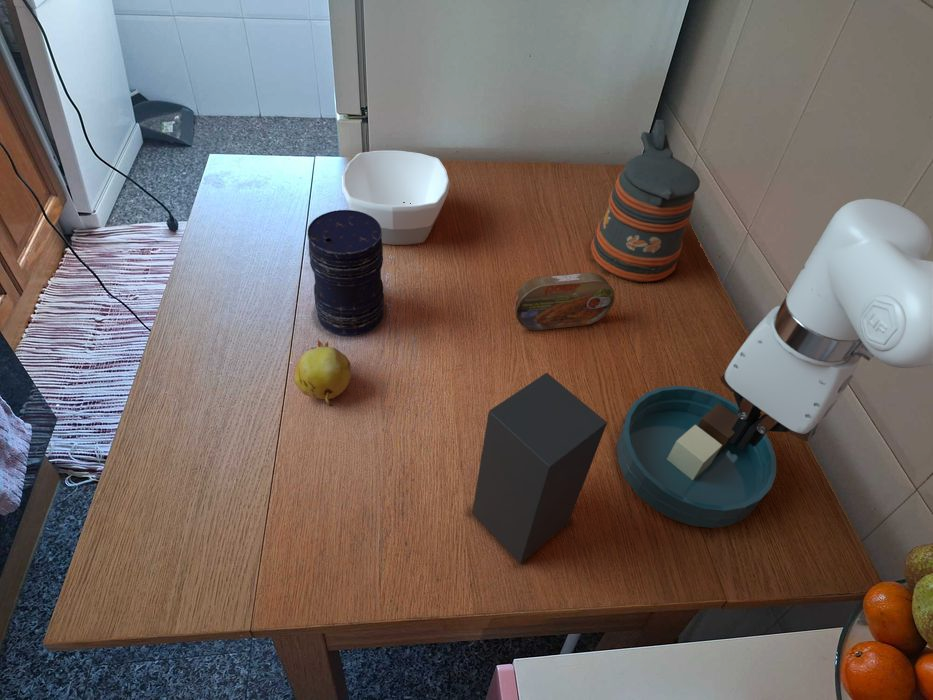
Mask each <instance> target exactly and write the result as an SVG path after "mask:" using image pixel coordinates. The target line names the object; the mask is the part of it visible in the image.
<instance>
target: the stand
mask: <svg viewBox="0 0 933 700" xmlns="http://www.w3.org/2000/svg"><path fill="white" fill-rule="evenodd" d="M485 425H486V426H485V432H484V438H483V444H482V449H481V456H480V462H479V469H478V474H477V480H476V487H475V494H474V500H473V506H472V511H471V514H472V515H473V517H475V519H476V520H478V522H480V523H481V525H482V526H483V527H484V528H485V529H486V530H487V531H488V532H489V533H490V534H491V535H492V536H493V538H494V539H496V540H497V541H498V542H499V544H500V545H501V546H502V547H503V548H504V549H505V550H506V551H507V552H508V553H509V554H510V555H511V556H512V557H513V558H514V559H515V561H517V563H518V564H520V565H522V563H524V562H525V561H526V560H527V559H529V558H530V557H531V556H532V555H534V553H535V552H537V551H538V550H539V549H540V548H541V547H543V546H544V545H545V544H546V543H548V542H549V541H550V540H551V539H553V537H554V536H555V535H557V534H558V533H559V532H560V531H561V530H562V529H564V528H565V527H566V526H567V525H568V524H569V523H570V522H571V518H572V516H573V513H574V511H575V508H576V506H577V504H578V500H579V498H580V495H581V492H582V490H583V487H584V485H585V482H586V480H587V477H588V474H589V471H590V470H591V466H592V463H593V461H594V458H595V456H596V453H597V450H598V448H599V446H600V443H601V440H602V438H603V436H604V433H605V430H606V427H607V425H608V421H606V420H605V419H604V418H603V417H601V416H600V414H598V413H597V412H595V411H594V410H593V409H592V408H591V407H589V406H588V405H587V404H586V403H584V402H583V401H582V400H581V399H580V398H578V397H577V396H576V395H575V394H573V393H572V392H571V391H570V390H569V389H567V388H566V387H565V386H563V385H562V384H561V383H560V382H559V381H558V380H557V379H555V378H554V377H553V376H552V375H550V374H549V373H548V372H545V373H544V374H542V375H540V376H539V377H538V378H536V379H534V380H533V381H531V382H530V383H528V384H527V385H526V386H524V387H522V388H521V389H519V390H518V391H516V392H514V393H513V394H512V395H510V396H509V397H507V398H506V399H505V400H503V401H501V402H500V403H499V404H497V405H495V406H494V407H493V408H491V409H490V410H488V413H487V420H486V424H485Z"/></svg>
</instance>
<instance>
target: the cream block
mask: <svg viewBox="0 0 933 700" xmlns="http://www.w3.org/2000/svg"><path fill="white" fill-rule="evenodd" d="M721 447H722V444H720V443H719V442H718V441H716V440H715V439H714V438H712V437H711V436H710V435H708V434H707V433H706V432H704V431H703V430H702V429H700V428H699V427H698V426H697V425H694V426H693V427H692V428H691V429H689V430H688V431H687V432H686V433H685V434H684V435H683V436H681V437H680V438H679V439H678V440H677V441H676V443H675V445H674V447H673V448H672V450H671V452H670V454H669V456H668V458H667V460H668V461H669V462H671V463H672V464H673V465H674V466H676V467H677V468H678V469H679V470H681V471H682V472H683V473H684V474H686V475H687V476H688V477H689V478H690V479H692V480H694V479H695V478H696V477H697V476H699V475H700V474H701V473H702V472H703V471H704V470H705V469H706V468H707V467H708V466H709V465H710V464H711V463H712V461H713V460H714V458H715V456H716V455H717V453H718V452H719V450H720V448H721Z"/></svg>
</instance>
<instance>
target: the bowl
mask: <svg viewBox="0 0 933 700" xmlns="http://www.w3.org/2000/svg"><path fill="white" fill-rule="evenodd" d="M340 178H341V192H342V193H343V195H344V198H345V200H346V202H347V204H348V206H349V208H350V209H349V210H354V211H359V212H363V213H366V214H368V215H370V216H372V217H373V218H375V219H376V220H377V221H378V223H379V224H380V226H381V230H382V237H381V238H382V244H384V245H385V244H386V245H392V246H398V245H399V246H401V245H405V246H406V245H414V244H422V243H424V242H426V241H427V238H428V237H429V235H430V233H431V231H432V229H433V226H434V225H435V222H436V220H437V218H438V217H439V214H440V212H441V210H442V207H443V205H444V203H445V201H446V199H447V197H448V193H449V190H450V187H451V182H450V178H449V175H448V171H447V169H446V167H445V166H444V164H443V163H442V161H441V160H440V158H439V157H435V156H432V155H427V154H424V153H421V152H414V151H406V150H405V151H404V150H371V151H365V152H359V153H357V154H356V155H355V156H354V157H353V158H352V159H351V160H350V161H349V162H348V163H347V165H346V166H345V169H344V170H343V172H342V175H341V177H340ZM403 202H405V203H403ZM410 203H411V204H410Z"/></svg>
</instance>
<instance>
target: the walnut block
mask: <svg viewBox="0 0 933 700" xmlns="http://www.w3.org/2000/svg"><path fill="white" fill-rule="evenodd" d="M738 418H739V417H738V416H737V415H735V414H734V413H733V412H731V411H730V410H728V409H727V408H726V407H724V406H723V405H722V404H720V403H719V404H717V405H716V406H715V407H714V408H713V409H712V410H711V411H709V412H708V413H707V414H706V415H705V416H704V417H702V419H701V421H700V422H699V424H698V427H699V428H700V429H702V430H703V431H704V432H706V433H707V434H708V435H710V436H711V437H712V438H714V439H715V440H716V441H718V442H719V443H720V444H722V447H721V448H720V450H719V452H718V453H717V455H716V456H719V455H720V454H721V453H722V452H723V451H724V450H725V449H726V448H727V447H728V446H729V445H731V444H732V443H730V441H731V439H732V438H733V436H734V434H735V432H734V431H732V430H731V429H732V428H733V426H734V425H735V423H736V421H737V420H738Z"/></svg>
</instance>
